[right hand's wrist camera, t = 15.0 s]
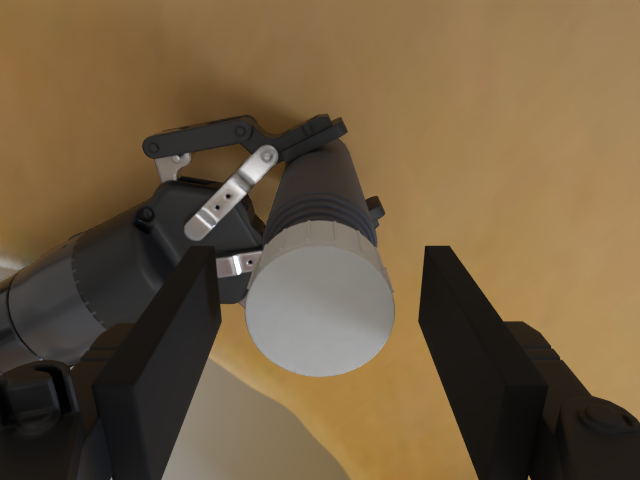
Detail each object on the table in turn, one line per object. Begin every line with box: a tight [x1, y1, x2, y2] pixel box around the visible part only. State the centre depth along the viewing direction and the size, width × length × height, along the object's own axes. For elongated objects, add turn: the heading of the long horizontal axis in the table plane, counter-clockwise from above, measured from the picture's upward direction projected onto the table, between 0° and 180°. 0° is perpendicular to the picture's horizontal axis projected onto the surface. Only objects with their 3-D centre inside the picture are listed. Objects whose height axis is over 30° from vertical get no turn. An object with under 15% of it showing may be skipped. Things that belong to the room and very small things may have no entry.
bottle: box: [262, 138, 377, 249], centre depth 22 cm, size 4×4×20 cm
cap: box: [245, 220, 395, 377], centre depth 14 cm, size 4×4×2 cm
